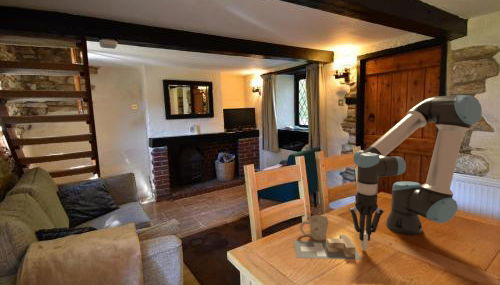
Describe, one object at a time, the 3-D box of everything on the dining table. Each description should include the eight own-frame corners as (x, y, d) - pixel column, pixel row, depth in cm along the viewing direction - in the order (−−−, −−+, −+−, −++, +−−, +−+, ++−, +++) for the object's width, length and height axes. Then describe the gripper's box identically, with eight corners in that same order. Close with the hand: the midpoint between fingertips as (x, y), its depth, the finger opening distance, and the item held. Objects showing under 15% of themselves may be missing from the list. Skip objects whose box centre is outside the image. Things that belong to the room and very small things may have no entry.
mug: (328, 245, 112) (329, 224, 111) (299, 243, 115) (299, 221, 113) (326, 236, 120) (327, 215, 119) (299, 233, 123) (299, 214, 121)
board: (351, 245, 112) (351, 241, 112) (361, 263, 99) (361, 259, 99) (293, 243, 114) (293, 240, 114) (296, 261, 101) (296, 257, 101)
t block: (347, 243, 111) (347, 234, 110) (355, 257, 101) (355, 247, 100) (325, 243, 112) (325, 234, 111) (330, 256, 102) (330, 247, 101)
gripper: (379, 189, 105) (376, 243, 108) (347, 189, 106) (345, 242, 109) (388, 195, 98) (384, 253, 101) (353, 195, 99) (350, 252, 102)
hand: (364, 247), depth 105 cm, fingers closed
